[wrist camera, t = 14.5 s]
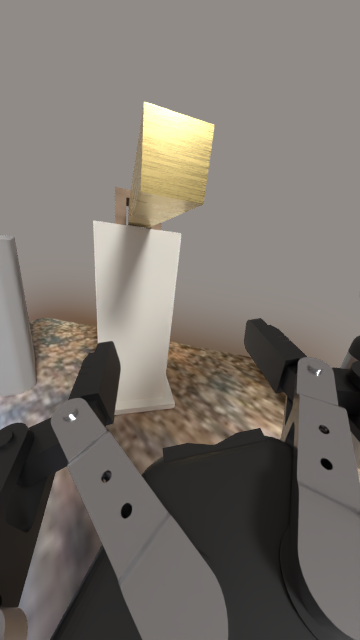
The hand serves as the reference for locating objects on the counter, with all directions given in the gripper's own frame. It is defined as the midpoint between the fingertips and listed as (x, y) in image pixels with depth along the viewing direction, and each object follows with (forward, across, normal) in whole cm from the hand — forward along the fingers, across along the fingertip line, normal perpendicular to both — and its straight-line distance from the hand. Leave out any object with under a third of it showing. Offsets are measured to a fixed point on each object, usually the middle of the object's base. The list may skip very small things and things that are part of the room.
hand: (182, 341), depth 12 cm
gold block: (+13, +1, -6) cm, 14 cm away
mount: (+24, +10, +28) cm, 38 cm away
